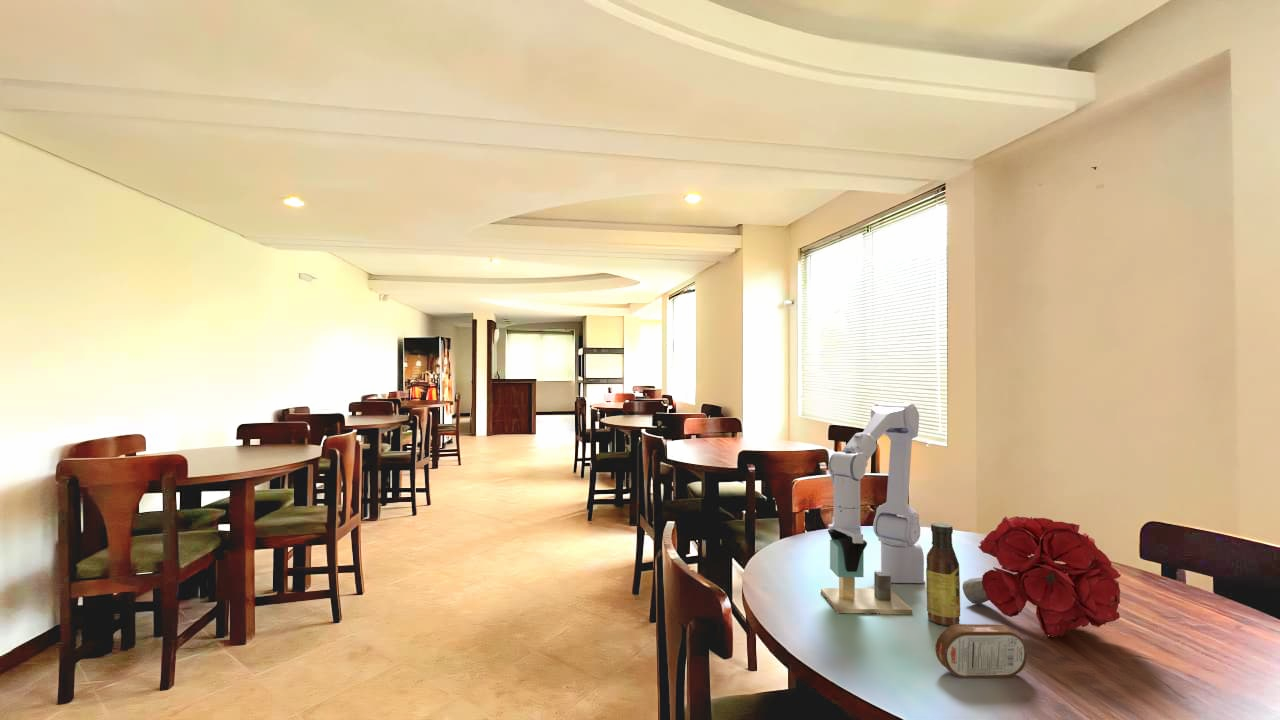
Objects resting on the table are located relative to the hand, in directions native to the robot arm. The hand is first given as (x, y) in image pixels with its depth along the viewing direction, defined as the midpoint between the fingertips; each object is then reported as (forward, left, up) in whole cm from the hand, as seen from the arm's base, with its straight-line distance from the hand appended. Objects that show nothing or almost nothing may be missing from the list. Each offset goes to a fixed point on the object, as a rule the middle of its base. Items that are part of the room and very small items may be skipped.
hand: (846, 566), depth 132 cm
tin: (-13, +31, -8) cm, 35 cm away
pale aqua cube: (0, 0, -1) cm, 1 cm away
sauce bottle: (-17, +9, -8) cm, 21 cm away
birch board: (-4, 0, -8) cm, 9 cm away
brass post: (0, 0, -8) cm, 8 cm away
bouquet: (-35, +11, -8) cm, 37 cm away
